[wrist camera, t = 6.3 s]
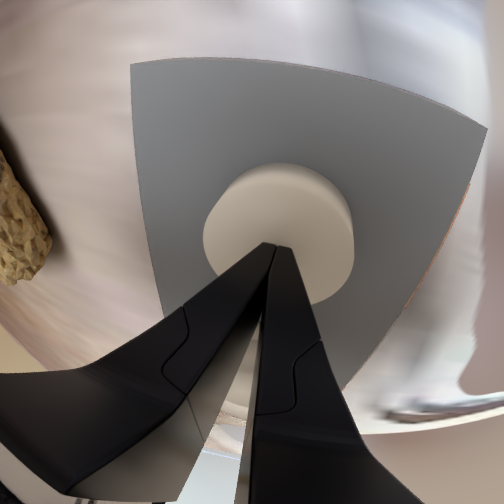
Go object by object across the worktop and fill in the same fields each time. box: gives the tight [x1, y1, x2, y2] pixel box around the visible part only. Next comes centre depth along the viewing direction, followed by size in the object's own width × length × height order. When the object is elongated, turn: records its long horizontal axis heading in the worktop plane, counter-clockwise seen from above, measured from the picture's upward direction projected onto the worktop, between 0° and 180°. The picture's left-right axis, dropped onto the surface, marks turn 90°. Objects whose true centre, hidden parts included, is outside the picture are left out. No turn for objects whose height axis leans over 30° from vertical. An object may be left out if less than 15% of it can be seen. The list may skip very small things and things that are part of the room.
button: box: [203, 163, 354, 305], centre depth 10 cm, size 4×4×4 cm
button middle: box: [225, 321, 260, 408], centre depth 13 cm, size 4×4×4 cm
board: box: [130, 57, 487, 391], centre depth 15 cm, size 24×11×3 cm, turn 176°
